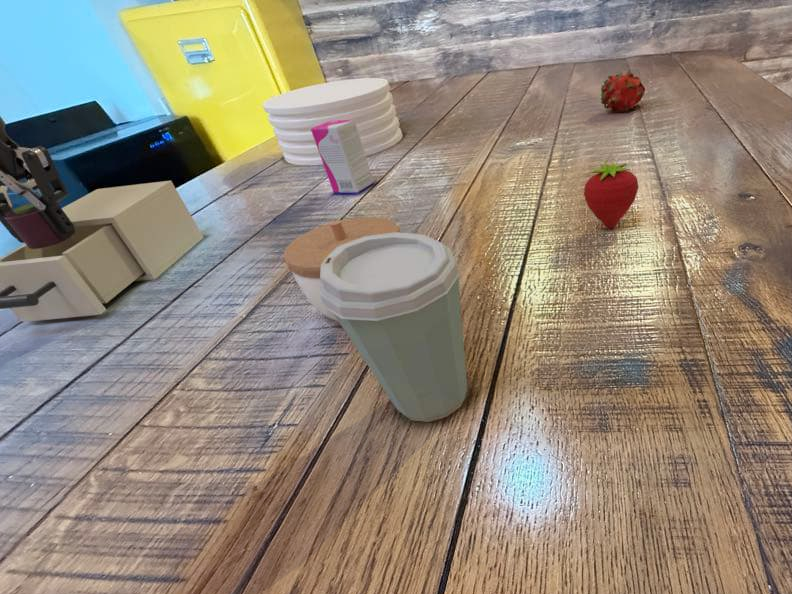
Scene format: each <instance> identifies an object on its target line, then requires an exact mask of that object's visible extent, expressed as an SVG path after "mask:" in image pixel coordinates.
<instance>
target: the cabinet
mask: <svg viewBox="0 0 792 594" xmlns="http://www.w3.org/2000/svg"><path fill="white" fill-rule="evenodd" d="M61 208H62V210H63V211H64V212H65V214H66V215H67V217H68V218H69V219H70V221H71V222H72V223H73V225H74V227H82V226H91V225H100V224H109V223H112V225H113V226H114V228H115V229H116V231H117V232H118V234H119V235H120V236H121V238H122V239H123V241H124V242H125V244H126V245H127V247H128V248H129V250H130V251H131V253H132V254H133V255H134V257H135V258H136V260H137V261H138V263H139V264H140V266H141V267H142V269H143V270H144V273H143V274H142V275H141V276H139V277H138V278H137V279H136V280H134V281H133V282H142V281H152V280H156V279H158V277H160V276H161V275H162V274H164V272H166V271H167V270H168V269H169V268H170V267H172V266H173V265H174V264H175V263H176V262H177V261H179V260H180V259H181V258H182V257H183V256H184V255H185V254H186V253H188V252H189V251H190V250H192V249H193V247H195V246H196V245H197V244H198V243H199V242H200V241H202V240H203V239H204V235H203V234H202V232H201V230H200V228H199V227H198V225H197V224H196V222H195V219H194V218H193V216H192V214H191V213H190V211H189V210H188V208H187V206H186V205H185V202H184V201H183V199H182V197H181V195H180V193H179V192H178V190H177V188H176V186H175V185H174V183H173V181H172V180H164V181H155V182H147V183H137V184H131V185H130V184H129V185H121V186H112V187H104V188H103V187H102V188H97V189H95V190H93V191H91V192H89V193H87V194H86V195H84V196H82V197H80V198H78V199H76V200H75V201H72V202H70V203H69V204H67V205H65V206H63V207H61Z"/></svg>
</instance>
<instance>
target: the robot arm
mask: <svg viewBox="0 0 792 594" xmlns="http://www.w3.org/2000/svg"><path fill="white" fill-rule="evenodd" d="M6 126H7V125H6V122H5V121H4V119H3V118H2V116H0V223H1V224H2V225H3V227H4V228H5V229H6V230H7V231H8V233H9V234H10V235H11V236H12V237H13V238H14V239H15V240H17V241H18V242H19V243H21V244H25V243H24V241H23V240H22V239H21V238H20V237H19V235H18V234H17V233H16V232H15V230H14V229H13V228H12V227H11V226H10V224H9V223H8V222H7V221H6V220H5V218H4V216H5V215H6V214H8V213H10V212H12V211H13V210H14V209H15V208H13V204H12V201H11V199H10V197H9V195H8V189H10V191H12V192H13V193H14V194H15V195H18V196H22V197H23V198H25V199H26V200H27V201H28V202H29V203H30V204H33V205H34V206H35V207H36V208H38V209H39V210H40V211H39V213H40V214H41V215H42V217H43V218H44V219H45V221H46V222H47V223H48V225H49V226H50V227H51V228H52V230H53V231H54V232H55V234H56V235H57V236H58V237H59V238H61V239H62V238H68V237H70V236H71V235H73V234H75V227H74V225H73V223H72V222H71V221H70V219H69V218H68V217H67V215H66V214H65V212H64V211H63V210H62V208H63V207H61V205H60V202H61V201H62V200H63V199H65V198H66V197H68V196H69V192H68V190H67V187H66V186H65V183H64V182H63V180H62V177H61V176H60V173H59V171H58V169H57V167H56V165H55V162H54V160H53V158H52V156H51V155H50V152H49V151H48V149H47V147H44V146H42V145H38V146H35V147H33V148H30V147H23V146H20V145H19V144H18V143H17V142H15V140H13V139H12V138H11V137H10V136H9V135H8V134H7V132H6ZM25 180H26V181H25ZM24 181H25V182H24ZM35 192H36V193H35ZM38 194H39V195H40V196H39V195H38Z"/></svg>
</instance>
